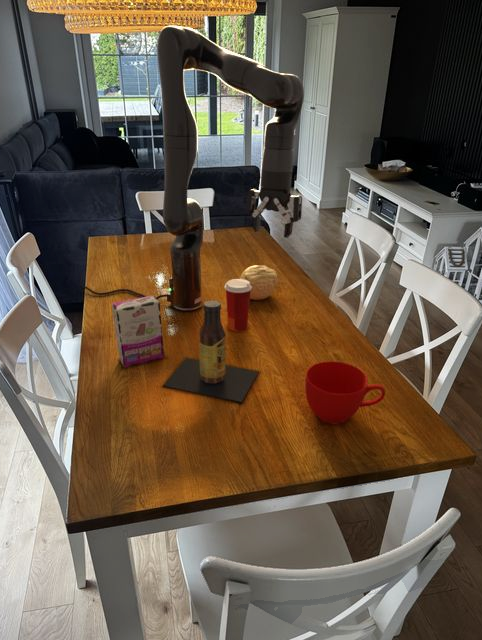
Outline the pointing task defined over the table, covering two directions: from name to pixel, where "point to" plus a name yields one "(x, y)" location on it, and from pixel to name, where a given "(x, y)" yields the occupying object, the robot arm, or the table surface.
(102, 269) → the table surface
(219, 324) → the sauce bottle
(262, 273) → the sculpture
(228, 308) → the paper cup
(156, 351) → the candy bar box
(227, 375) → the placemat
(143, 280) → the table surface
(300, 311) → the table surface
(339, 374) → the ceramic cup
